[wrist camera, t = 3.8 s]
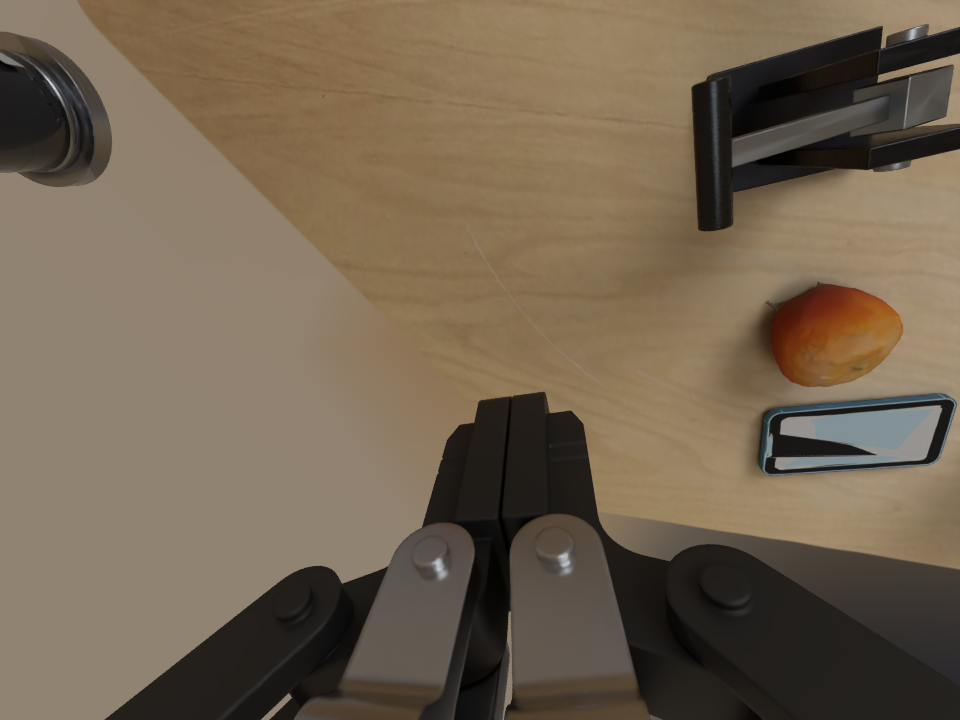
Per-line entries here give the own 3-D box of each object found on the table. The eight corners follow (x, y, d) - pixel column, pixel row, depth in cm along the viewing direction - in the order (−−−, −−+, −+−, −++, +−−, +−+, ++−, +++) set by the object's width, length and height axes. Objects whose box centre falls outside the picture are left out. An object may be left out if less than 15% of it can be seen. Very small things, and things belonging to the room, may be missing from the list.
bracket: (710, 195, 34) (800, 216, 22) (706, 76, 31) (808, 29, 19) (858, 160, 32) (1042, 164, 20) (870, 30, 28) (1096, -55, 17)
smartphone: (937, 465, 40) (761, 477, 42) (929, 458, 41) (756, 470, 43) (960, 395, 37) (768, 412, 39) (950, 390, 38) (763, 407, 40)
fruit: (840, 238, 33) (933, 311, 28) (840, 294, 38) (918, 363, 33) (733, 299, 35) (800, 375, 30) (748, 342, 41) (806, 413, 36)
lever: (683, 230, 21) (723, 233, 19) (675, 91, 19) (719, 76, 17) (884, 164, 24) (940, 159, 22) (899, 33, 21) (963, 13, 19)
